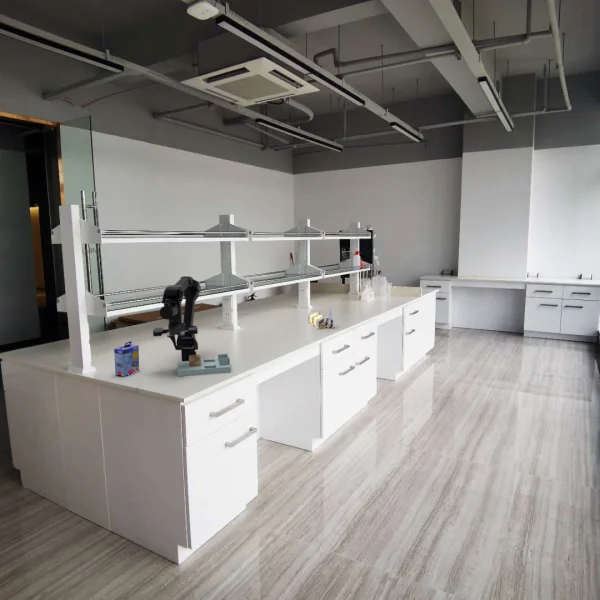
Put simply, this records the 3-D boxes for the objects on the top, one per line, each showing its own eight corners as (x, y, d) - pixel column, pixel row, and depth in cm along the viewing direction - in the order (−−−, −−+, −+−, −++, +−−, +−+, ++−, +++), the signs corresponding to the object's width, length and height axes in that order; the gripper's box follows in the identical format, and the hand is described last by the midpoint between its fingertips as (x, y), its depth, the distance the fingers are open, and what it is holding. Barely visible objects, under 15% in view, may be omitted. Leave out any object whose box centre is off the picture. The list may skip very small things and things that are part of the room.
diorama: (333, 329, 290) (333, 309, 289) (318, 330, 288) (318, 310, 286) (322, 322, 314) (322, 303, 313) (307, 323, 312) (307, 304, 310)
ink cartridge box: (124, 377, 194) (122, 344, 192) (114, 376, 196) (112, 343, 194) (140, 371, 203) (138, 339, 201) (130, 369, 205) (128, 338, 203)
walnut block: (189, 366, 200) (189, 358, 199) (189, 363, 204) (189, 355, 204) (201, 365, 201) (200, 357, 200) (200, 363, 206) (200, 354, 205)
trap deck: (177, 376, 194) (177, 364, 193) (178, 366, 208) (178, 355, 208) (230, 372, 199) (230, 360, 198) (227, 363, 214) (227, 352, 213)
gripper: (151, 319, 188) (153, 356, 190) (197, 317, 192) (198, 353, 194) (153, 315, 198) (155, 349, 201) (196, 313, 203) (198, 346, 205)
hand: (176, 349), depth 200 cm, fingers closed
